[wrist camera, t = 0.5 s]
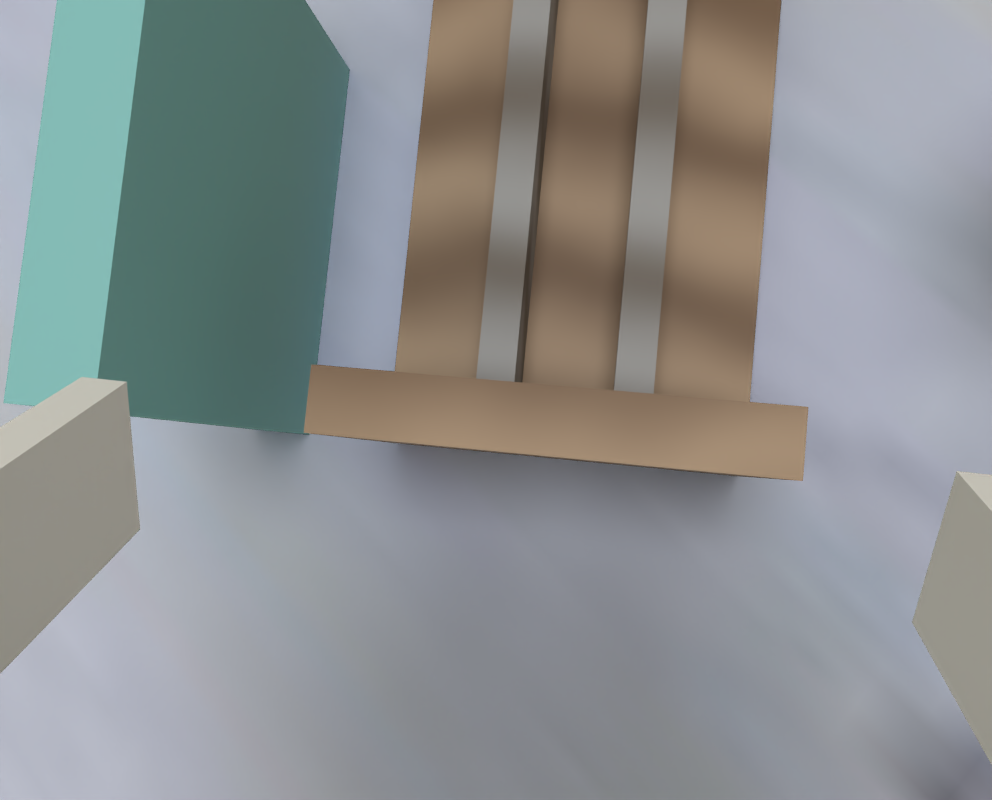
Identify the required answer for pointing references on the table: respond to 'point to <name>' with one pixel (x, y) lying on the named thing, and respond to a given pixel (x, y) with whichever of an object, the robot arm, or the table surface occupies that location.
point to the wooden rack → (585, 242)
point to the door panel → (182, 209)
